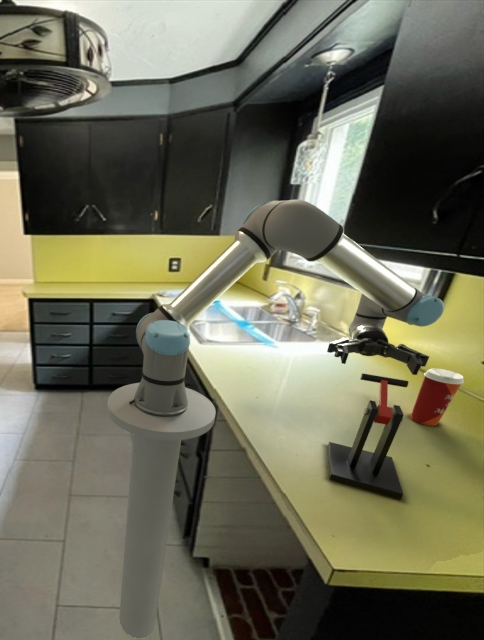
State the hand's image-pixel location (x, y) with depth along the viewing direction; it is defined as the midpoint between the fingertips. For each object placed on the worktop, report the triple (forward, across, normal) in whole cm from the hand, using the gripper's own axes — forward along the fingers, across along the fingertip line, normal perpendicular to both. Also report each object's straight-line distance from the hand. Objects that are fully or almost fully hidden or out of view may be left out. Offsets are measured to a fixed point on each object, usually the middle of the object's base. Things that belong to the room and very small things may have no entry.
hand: (379, 363), depth 85 cm
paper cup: (-18, -17, -19) cm, 31 cm away
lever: (+13, 0, -4) cm, 14 cm away
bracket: (+18, 0, -19) cm, 26 cm away
